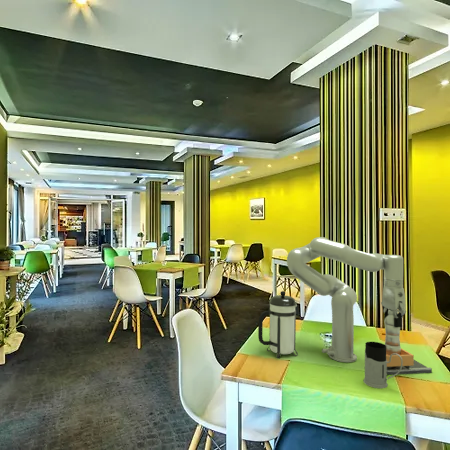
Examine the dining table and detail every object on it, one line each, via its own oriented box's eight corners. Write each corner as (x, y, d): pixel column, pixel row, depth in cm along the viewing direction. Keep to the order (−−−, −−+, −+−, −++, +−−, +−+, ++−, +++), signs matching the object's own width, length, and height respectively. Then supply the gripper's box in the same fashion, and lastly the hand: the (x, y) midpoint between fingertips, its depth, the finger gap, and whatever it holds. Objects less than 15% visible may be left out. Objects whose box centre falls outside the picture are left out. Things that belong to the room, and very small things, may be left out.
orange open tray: (386, 370, 138) (387, 356, 138) (370, 359, 150) (370, 345, 150) (413, 369, 140) (413, 355, 140) (395, 357, 152) (395, 345, 152)
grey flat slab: (387, 374, 138) (387, 370, 138) (370, 362, 151) (370, 358, 151) (431, 372, 140) (431, 368, 140) (410, 360, 153) (410, 356, 153)
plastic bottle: (403, 358, 141) (403, 312, 141) (385, 357, 143) (386, 310, 143) (398, 353, 148) (399, 308, 148) (382, 351, 149) (382, 307, 149)
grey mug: (369, 375, 137) (369, 339, 137) (406, 388, 126) (406, 349, 127) (359, 382, 131) (359, 344, 131) (397, 396, 121) (398, 355, 121)
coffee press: (271, 345, 171) (272, 286, 171) (301, 351, 163) (302, 290, 163) (257, 356, 156) (258, 292, 156) (290, 364, 148) (291, 296, 148)
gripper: (414, 287, 137) (414, 330, 137) (389, 280, 154) (388, 318, 154) (398, 287, 136) (397, 331, 136) (373, 280, 153) (373, 319, 153)
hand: (392, 324), depth 145 cm, fingers closed on plastic bottle, 6 cm apart
